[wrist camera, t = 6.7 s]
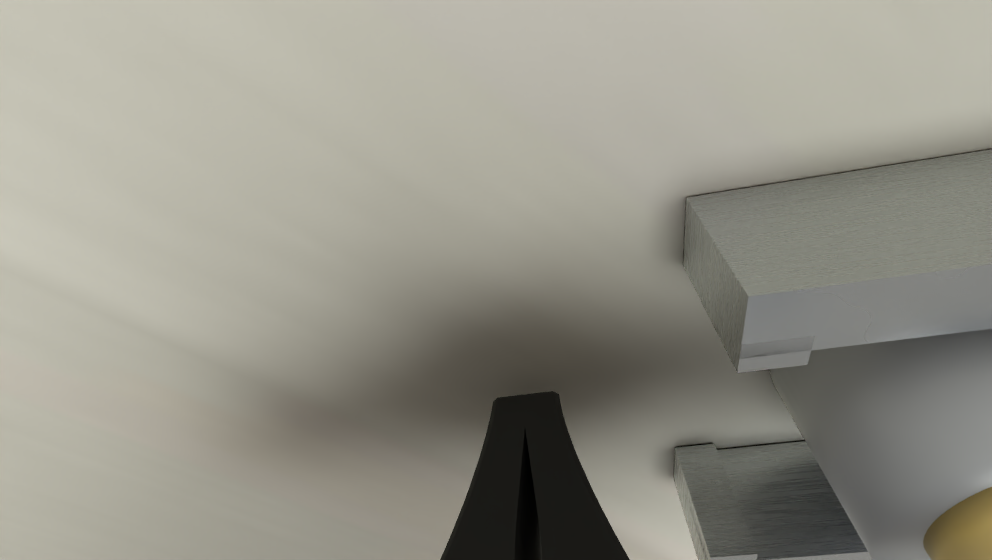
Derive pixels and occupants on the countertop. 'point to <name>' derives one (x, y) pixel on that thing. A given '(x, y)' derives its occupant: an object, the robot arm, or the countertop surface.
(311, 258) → the countertop surface
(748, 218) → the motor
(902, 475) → the grey round piece
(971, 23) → the countertop surface
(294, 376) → the countertop surface
